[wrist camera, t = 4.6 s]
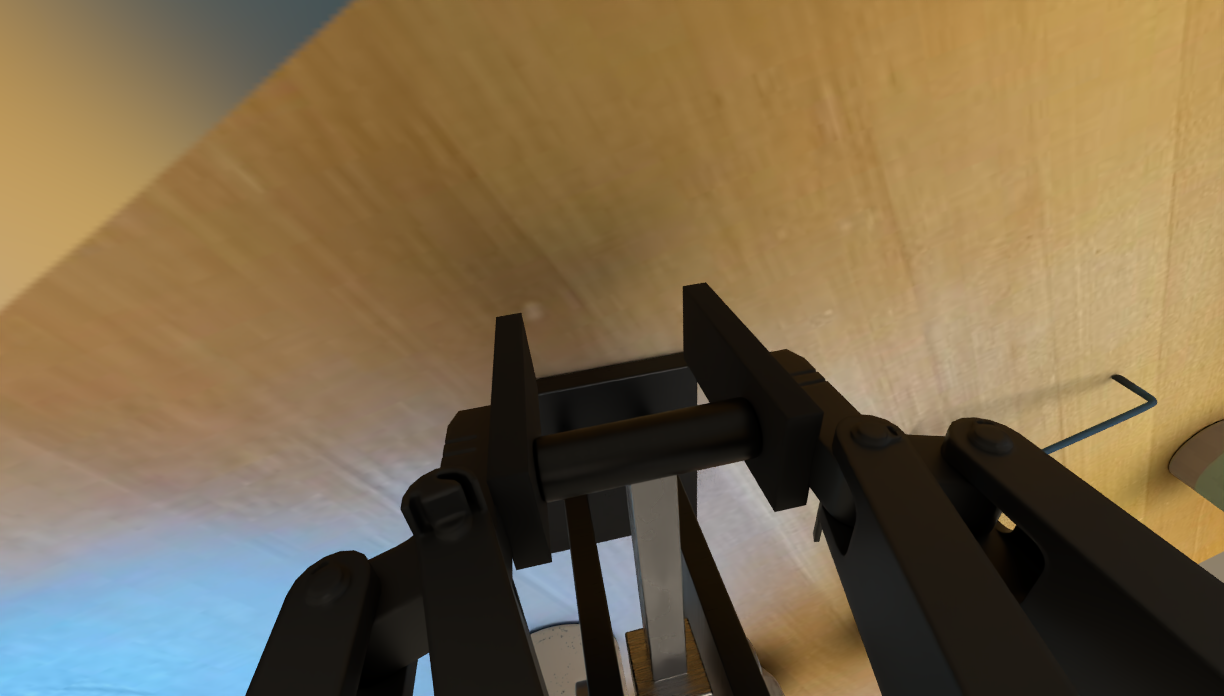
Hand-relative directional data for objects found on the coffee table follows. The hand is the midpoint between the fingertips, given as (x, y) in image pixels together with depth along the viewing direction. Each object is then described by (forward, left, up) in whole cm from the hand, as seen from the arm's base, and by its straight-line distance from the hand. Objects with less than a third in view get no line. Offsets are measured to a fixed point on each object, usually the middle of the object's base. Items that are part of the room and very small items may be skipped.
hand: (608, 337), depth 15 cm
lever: (+6, 0, +4) cm, 7 cm away
